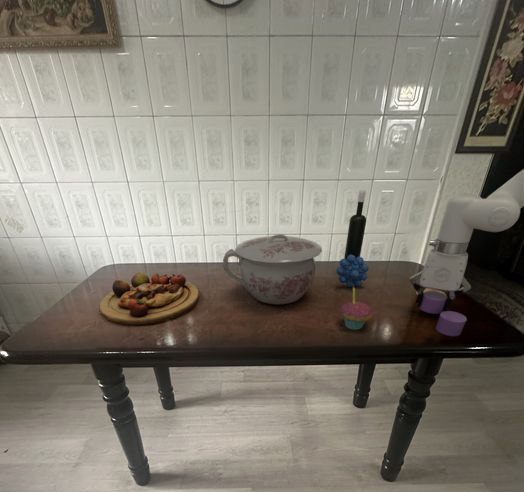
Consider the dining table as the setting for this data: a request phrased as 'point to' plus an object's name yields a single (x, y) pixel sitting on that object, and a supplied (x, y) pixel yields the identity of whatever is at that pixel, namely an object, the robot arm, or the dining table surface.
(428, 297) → the purple cylinder
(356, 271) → the grapes
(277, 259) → the chamber pot
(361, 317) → the cupcake
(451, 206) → the robot arm
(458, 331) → the short purple cylinder
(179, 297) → the wooden plate
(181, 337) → the dining table surface
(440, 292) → the coaster
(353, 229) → the wine bottle
